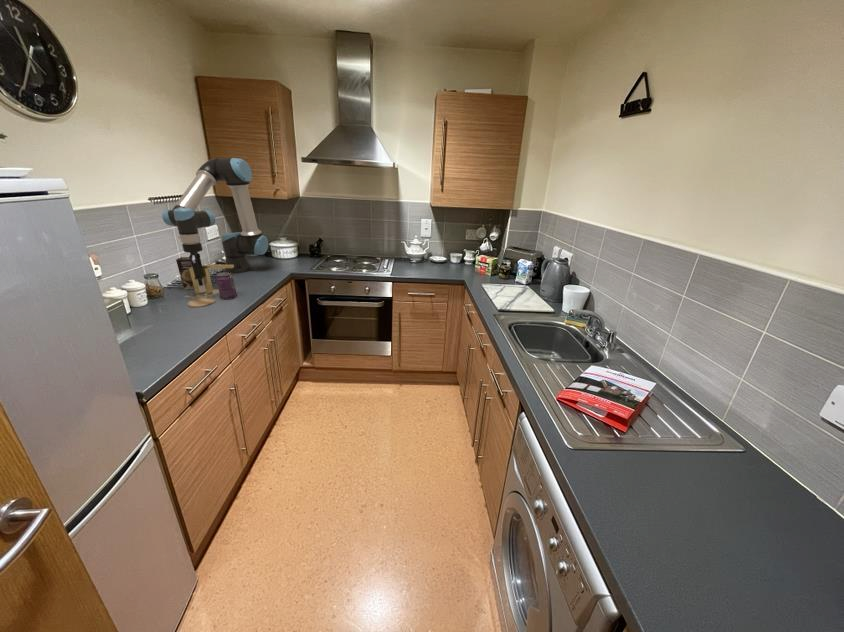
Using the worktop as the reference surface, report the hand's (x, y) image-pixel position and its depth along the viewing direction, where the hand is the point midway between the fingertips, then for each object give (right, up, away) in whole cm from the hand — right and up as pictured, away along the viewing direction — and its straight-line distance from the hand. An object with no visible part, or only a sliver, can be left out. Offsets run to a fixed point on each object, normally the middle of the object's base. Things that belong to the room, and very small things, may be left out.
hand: (203, 289), depth 160 cm
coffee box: (-12, +2, +11) cm, 16 cm away
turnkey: (+6, -1, +1) cm, 7 cm away
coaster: (+6, -7, -10) cm, 13 cm away
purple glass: (+14, -4, -2) cm, 15 cm away
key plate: (0, -2, +1) cm, 3 cm away
